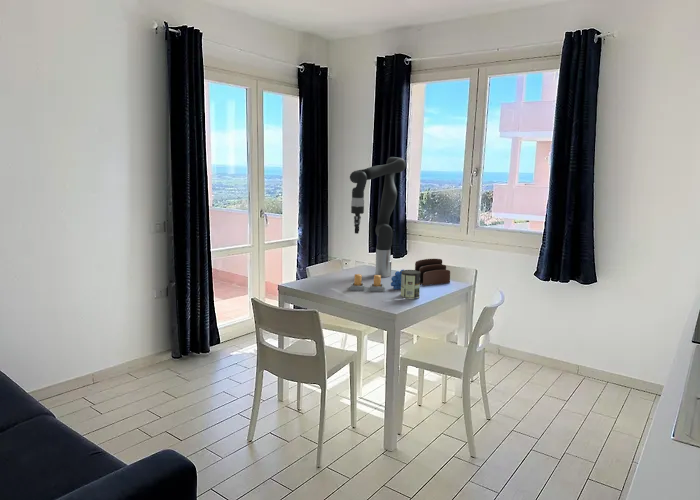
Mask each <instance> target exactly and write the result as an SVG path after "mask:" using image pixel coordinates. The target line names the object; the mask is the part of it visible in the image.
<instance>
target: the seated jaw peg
mask: <svg viewBox="0 0 700 500" xmlns="http://www.w3.org/2000/svg"><path fill="white" fill-rule="evenodd" d="M373 283H374V286H378V287H381V284H382V277H381V275H375V274H374V275H373Z"/></svg>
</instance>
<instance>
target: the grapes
mask: <svg viewBox="0 0 700 500" xmlns="http://www.w3.org/2000/svg"><path fill="white" fill-rule="evenodd" d="M403 270H404V269H400V271H399V270H398V271H396V272H395V273H394V275H393V276H391V278H390V280H391V282H390V286H391V287H393V290H398V289H399V290H401V275H402V273H401V271H403Z"/></svg>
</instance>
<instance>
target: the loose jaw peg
mask: <svg viewBox="0 0 700 500" xmlns="http://www.w3.org/2000/svg"><path fill="white" fill-rule="evenodd" d="M362 277H363V276H362V273H356V274H354V280H353V281H354V282H353V283H354V286H361V283H362V281H363V280H362V279H363V278H362Z"/></svg>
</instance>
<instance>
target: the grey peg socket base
mask: <svg viewBox="0 0 700 500" xmlns="http://www.w3.org/2000/svg"><path fill="white" fill-rule="evenodd" d="M365 284H366V283H365V282H361V286H354V282H350V286H349V289H348V291H349V292H365V293H386V287H385V284H384V283H381V287H378V286H374V282H373V283H370V286H365Z"/></svg>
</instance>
